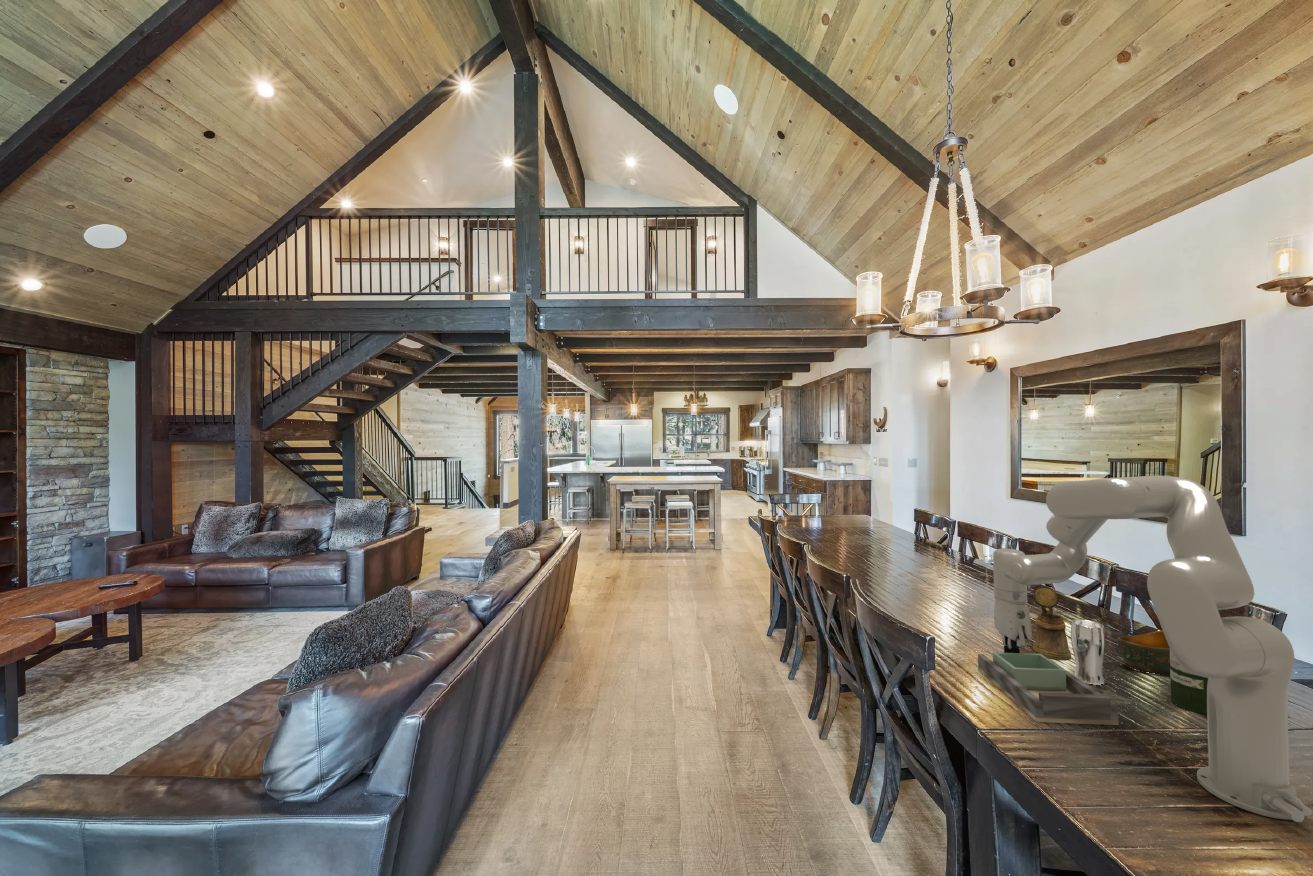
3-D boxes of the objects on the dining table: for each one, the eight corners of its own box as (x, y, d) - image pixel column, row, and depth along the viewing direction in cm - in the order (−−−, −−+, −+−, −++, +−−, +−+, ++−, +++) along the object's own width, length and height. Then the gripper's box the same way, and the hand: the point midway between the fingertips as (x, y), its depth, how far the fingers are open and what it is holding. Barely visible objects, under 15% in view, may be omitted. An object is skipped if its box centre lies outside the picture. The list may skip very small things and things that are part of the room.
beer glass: (1113, 687, 130) (1111, 629, 131) (1082, 685, 132) (1080, 627, 132) (1095, 675, 137) (1094, 619, 137) (1066, 673, 139) (1064, 618, 139)
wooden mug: (1064, 645, 157) (1063, 587, 157) (1074, 662, 145) (1072, 599, 145) (1029, 640, 161) (1027, 583, 161) (1035, 656, 149) (1034, 595, 150)
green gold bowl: (1226, 688, 129) (1225, 647, 129) (1122, 672, 139) (1120, 635, 139) (1205, 668, 140) (1203, 631, 140) (1110, 655, 150) (1108, 620, 150)
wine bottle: (1163, 701, 123) (1160, 577, 123) (1182, 695, 126) (1178, 574, 126) (1208, 718, 116) (1204, 586, 116) (1226, 711, 119) (1223, 582, 119)
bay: (1118, 725, 114) (1117, 698, 114) (1036, 721, 116) (1035, 695, 116) (1044, 672, 140) (1043, 650, 140) (978, 670, 142) (977, 648, 142)
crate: (1066, 690, 127) (1065, 670, 127) (1014, 688, 129) (1014, 669, 129) (1041, 672, 137) (1040, 653, 137) (993, 670, 138) (992, 652, 138)
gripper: (1042, 603, 132) (1044, 674, 132) (1009, 587, 147) (1011, 650, 147) (1011, 603, 133) (1012, 673, 133) (981, 586, 148) (983, 650, 148)
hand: (1012, 661), depth 140 cm, fingers closed
